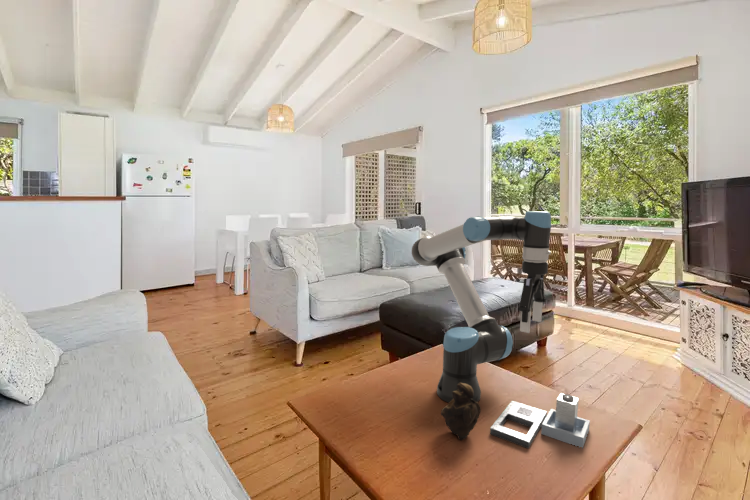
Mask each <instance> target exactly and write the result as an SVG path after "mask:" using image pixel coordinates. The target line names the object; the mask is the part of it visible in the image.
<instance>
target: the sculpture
mask: <svg viewBox="0 0 750 500" xmlns="http://www.w3.org/2000/svg"><path fill="white" fill-rule="evenodd" d="M457 387H458V390H456V391H453V392H452V394H453V398H454V399H452V400H451V401H450V402H449V403H447V405H446V406H444V407H443V408H442V409H441V411H440V416H441V417H442V418H443V419H444V423H445V426H446V427H448V429H449V430H450V432H451V434H453V435H456V436H457V439H458V440H459V441H464V440H465V439H466V438H467V437H468V436H469V435H470V433H471V431H472V430H473V429H474V428H475V426H476V425H477V423H478V419H480V415H481V413H482V412H481V410H482V409H481V405H480V404H479V401H478V402H475V401H474V400H473V396H474V391H473V389H472V387H471V386H470V385H468V384H465V383H458V385H457Z"/></svg>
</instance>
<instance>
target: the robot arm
mask: <svg viewBox="0 0 750 500" xmlns="http://www.w3.org/2000/svg"><path fill="white" fill-rule="evenodd" d="M551 229H552V214H551V213H550V212H549V211H542V210H541V211H537V210H536V211H535V210H533V211H532V210H528V211H526V212H525V214H524V216H514V215H513V216H512V215H502V216H479V215H478V216H470V217H468V218H467V219H466V220H465V221H464V223H463V224H460V225H457V226H456V227H453V228H451V229H448V230H446V231H443V232H441V233H438V234H436V235H434V236H424V237H422V238H421V237H420V238H419V239H417V240H416V241H415V242H414V243H413V245H412V247H411V256H412V258H413V260H414V261H415V262H416V263H417V264H418V265H421V266H424V267H433V266H435V267H436V268H437V270H438V273H440V274H443V275H444V276H445V279H446V281H447V283H448V284H449V287H450V289H451V291H452V293H453V296H454V298H455V300H456V302H457V304H458V307H459V309H460V310H461V313H462V315H463V317H464V319H465V322H466V323H467V325H468V326H455V327H452V328H450V329H449V330H447V331H446V332H445V333H444V335H443V336H444V337H443V343H442V346H443V347H442V348H443V352H442V353H443V354H442V372H441V375H440V378H439V381H438V383H437V387H436V393H437V396H438V397H439V398H440V399H441V400H442V401H444V402H446V403H447V404H449V402H450V401H451V400H452V399H454V398H453V394H452V392H453V391H456V390H458V387H457V385H458V383H465V384H468V385H470V386H471V387H472V389H473V391H474V396H473V400H474V401H475V402H478V403H479V402H480V400H481V395H482V392H481V390H482V389H481V387H480V384H479V380H478V377H477V371H478V369H477V368H478V365H481V364H485V363H490V362H493V361H500V360H502V359H505V358H507V357H508V356H509V355H510V354H511V352H512V350H513V345H514V344H513V343H514V341H513V336H512V334H511V332H510V330H509V329H508V327H505V326H504V325H499V323H498V321H497V320H496V318H495V317H492V316H490V315H489V313H488V311H487V308H486V306H485V305H484V303H483V301H482V299H481V297H480V295H479V293H478V291H477V289H476V287H475V285H474V283H473V282H472V279H471V277H470V275H469V273H468V272H467V270H466V268H465V266H464V265H465V262H466V260H465V259H466V256H467V253H466V248H467V247H469V246H472V245H474V244H478V243H481V242H486V241H492V240H493V241H496V240H497V241H499V240H500V241H501V240H515V241H516V240H518V241H523V246H522V257H521V259H522V260H523V261H522V262H521V263H522V264H521V272H522V273H523V274H527V277H526V278H523V285H522V291H521V296H520V303H519V306H518V308H517V310H518V311H519V312H520V323H519V324H520V325H519V332H520V333H521V332H522V333H527V334H530V332H531V322H538V323H541V322H542V317H543V315H542V314H543V304H544V303H546V297H545V296H546V295H545V284H544V283H545V282H544V278H545V275H547V274H548V271H549V263H548V261H549V255H551V254H552V253H551V250H550V239H551ZM532 304H533V305H532ZM531 308H532V311H531ZM531 315H532V316H531ZM531 317H532V318H531ZM531 319H532V320H531Z"/></svg>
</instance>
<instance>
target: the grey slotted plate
mask: <svg viewBox="0 0 750 500" xmlns="http://www.w3.org/2000/svg"><path fill="white" fill-rule="evenodd" d="M547 414H548V411H547V410H544V409H541V408H537V407H534V406H531V405H528V404H525V403H522V402H519V401H516V400H511V401H510V402H509V404H508V405H507V406H506V408H505V409H504V410H503V411H502V413H500V415H499V416H498V418H497V419H496V420H495V421H494V423H493V424H492V425H491V426H490V428H489V429H490V430H489V435H492V436H493V437H497V438H499V439H502V440H505V441H508V442H510V443H512V444H515V445H517V446H520V447H523V448H526V449H528V450H529V449H530V447H531V445H532V443H533V442H534V440H535V438H536V436H537V435H538V433H539V431H540V430H541V429H542V423H543V421H544V420H545V418H546V416H547ZM507 421H510V422H514V423H516V424H519V425H523V426H524V427H525V426H526V427H528V428H529V430H528V432H527V434H525V433H523V432H519V431H517V430H514V429H511V428H509V427H506V426H504V425H505V423H506V422H507Z"/></svg>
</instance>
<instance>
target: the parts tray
mask: <svg viewBox="0 0 750 500" xmlns="http://www.w3.org/2000/svg"><path fill="white" fill-rule="evenodd" d="M555 416H556V409H554V408H550V410H549V411H548V412H547V416H546V418H545V420H544V421H543V423H542V426H541V429H540V430H541V432H540V434H541V435H544V436H546V437H549V438H552V439H555V440H558V441H560V442H563V443H565V444H569V445H571V444H572V445H571V446H574V445H575V447H577V446H579V447H578V448H580V447H582V448H581V449H584V446H585V443H586V440H587V438H588V435H587V434H589V432H590V423H591V420H589V419H585V418H582V417H579V416H577V425H576V431H575V433H572V432H569V431H566V430H563V429H560V428H557V427H555ZM586 437H587V438H586Z"/></svg>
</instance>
